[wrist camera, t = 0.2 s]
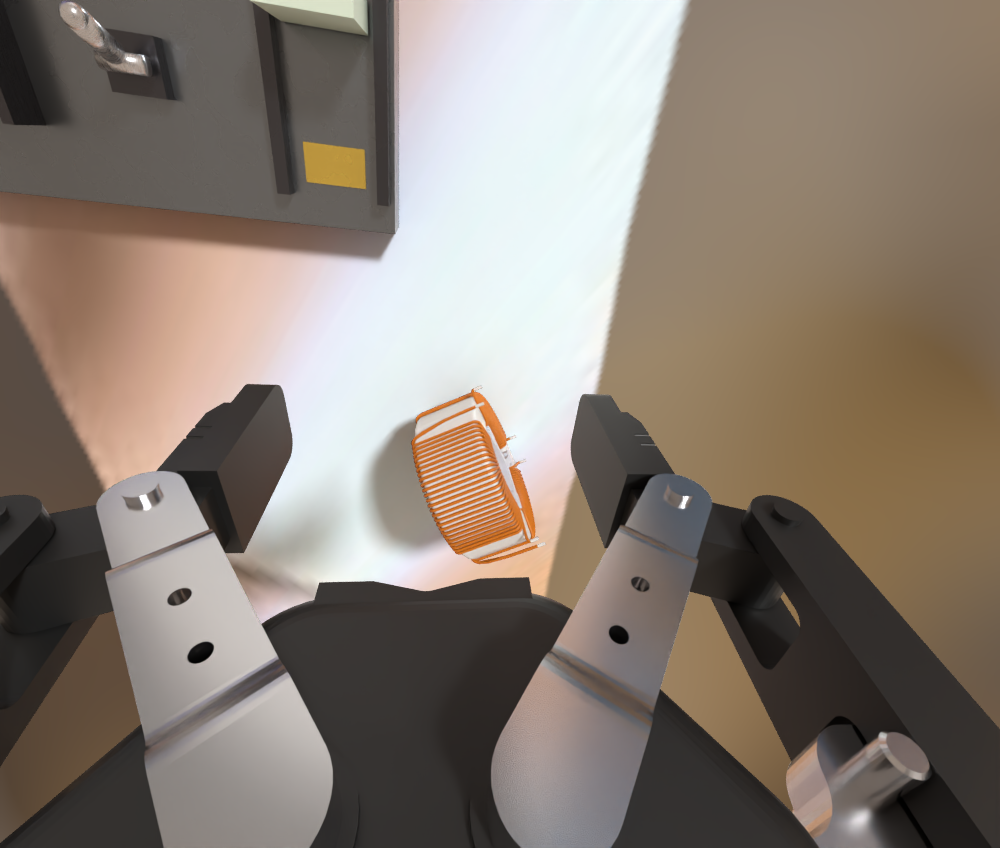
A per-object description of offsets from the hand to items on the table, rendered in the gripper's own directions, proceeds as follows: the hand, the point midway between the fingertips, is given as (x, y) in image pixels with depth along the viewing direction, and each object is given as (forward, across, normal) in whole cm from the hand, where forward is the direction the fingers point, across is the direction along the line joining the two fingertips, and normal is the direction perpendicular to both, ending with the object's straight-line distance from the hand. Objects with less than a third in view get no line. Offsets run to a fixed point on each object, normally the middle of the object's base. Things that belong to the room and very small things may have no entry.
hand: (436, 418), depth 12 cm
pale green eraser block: (+26, +7, -12) cm, 29 cm away
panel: (+29, +18, -8) cm, 35 cm away
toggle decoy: (+24, +18, -8) cm, 32 cm away
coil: (+29, -4, +19) cm, 35 cm away
